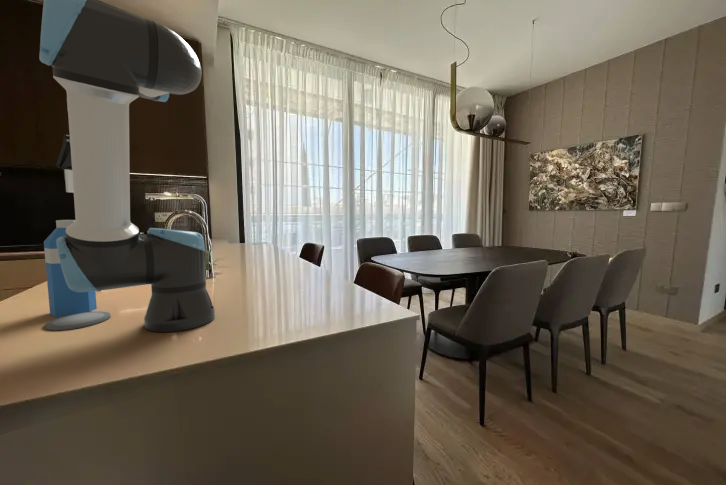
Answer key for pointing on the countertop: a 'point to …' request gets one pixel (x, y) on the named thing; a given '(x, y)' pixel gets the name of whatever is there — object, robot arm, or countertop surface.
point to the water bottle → (63, 280)
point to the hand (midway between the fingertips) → (92, 192)
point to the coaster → (77, 321)
